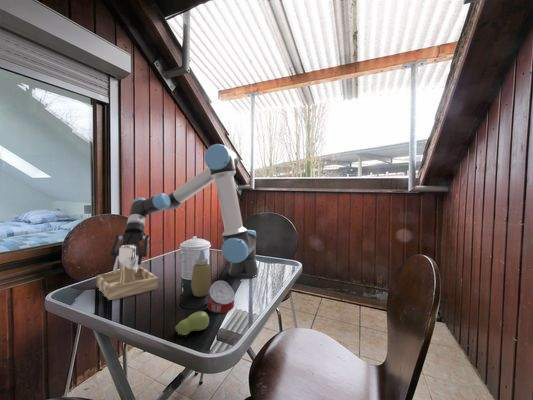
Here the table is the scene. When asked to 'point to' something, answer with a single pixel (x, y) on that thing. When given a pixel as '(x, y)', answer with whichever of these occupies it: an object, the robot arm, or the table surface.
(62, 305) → the table surface
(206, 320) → the pear
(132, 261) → the beer glass
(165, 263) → the table surface
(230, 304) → the canned food
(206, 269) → the squeeze bottle
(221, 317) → the table surface
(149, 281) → the crate
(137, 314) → the table surface
